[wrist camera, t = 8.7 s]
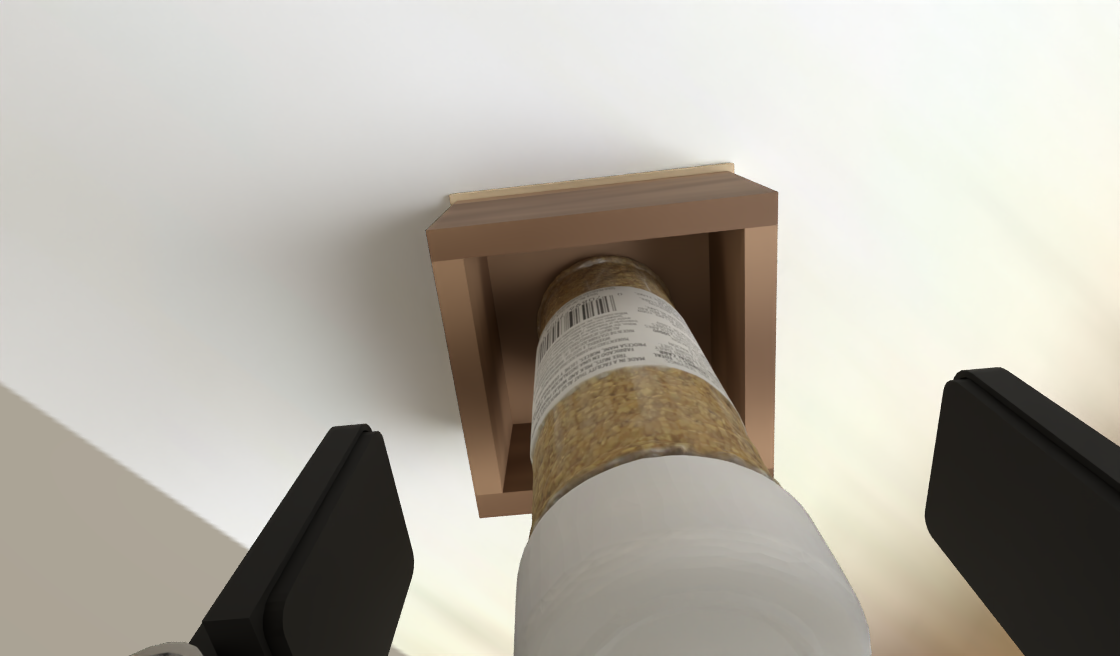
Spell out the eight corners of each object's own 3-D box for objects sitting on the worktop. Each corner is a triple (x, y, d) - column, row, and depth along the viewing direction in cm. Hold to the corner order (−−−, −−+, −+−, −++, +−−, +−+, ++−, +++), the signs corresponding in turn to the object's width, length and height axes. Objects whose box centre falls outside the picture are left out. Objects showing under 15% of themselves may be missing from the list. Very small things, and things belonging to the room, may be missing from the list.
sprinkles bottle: (566, 398, 21) (585, 851, 8) (514, 280, 19) (444, 620, 7) (693, 353, 20) (917, 766, 8) (650, 228, 19) (843, 493, 6)
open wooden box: (450, 194, 20) (415, 223, 15) (731, 162, 19) (786, 182, 15) (491, 436, 23) (473, 524, 18) (734, 413, 22) (779, 496, 18)
